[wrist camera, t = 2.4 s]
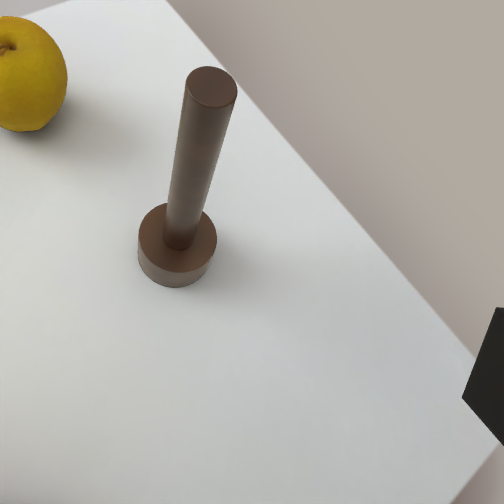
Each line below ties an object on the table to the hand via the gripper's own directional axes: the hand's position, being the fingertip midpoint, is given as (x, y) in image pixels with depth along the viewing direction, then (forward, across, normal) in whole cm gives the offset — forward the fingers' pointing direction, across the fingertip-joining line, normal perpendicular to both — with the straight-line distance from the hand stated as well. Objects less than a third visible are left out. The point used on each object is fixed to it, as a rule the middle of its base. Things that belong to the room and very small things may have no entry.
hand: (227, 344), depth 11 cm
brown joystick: (+22, 0, -7) cm, 23 cm away
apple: (+29, -11, 0) cm, 31 cm away
